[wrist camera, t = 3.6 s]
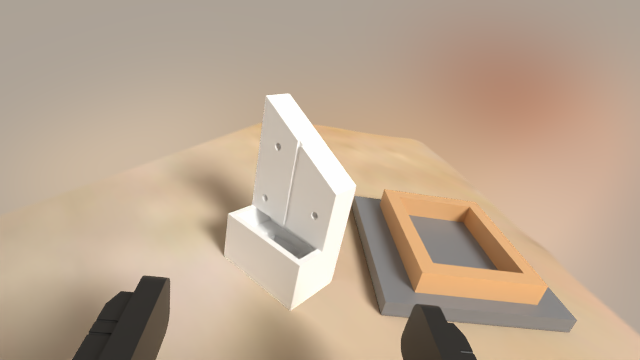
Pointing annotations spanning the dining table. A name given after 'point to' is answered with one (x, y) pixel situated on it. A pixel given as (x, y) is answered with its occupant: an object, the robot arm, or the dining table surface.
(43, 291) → the dining table surface
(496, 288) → the plate
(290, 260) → the white angled block
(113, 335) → the robot arm
